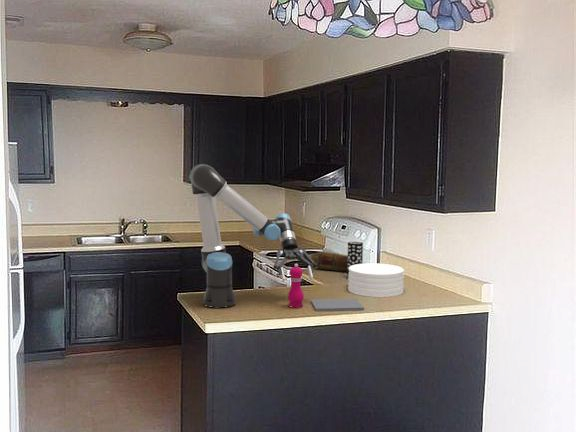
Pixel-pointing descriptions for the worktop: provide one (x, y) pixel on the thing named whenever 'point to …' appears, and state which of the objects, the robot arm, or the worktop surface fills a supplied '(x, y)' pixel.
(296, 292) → the pepper mill
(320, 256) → the decorative bottle
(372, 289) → the plate stack
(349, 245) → the white-spotted black cylinder
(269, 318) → the worktop surface
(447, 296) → the worktop surface
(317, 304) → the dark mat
